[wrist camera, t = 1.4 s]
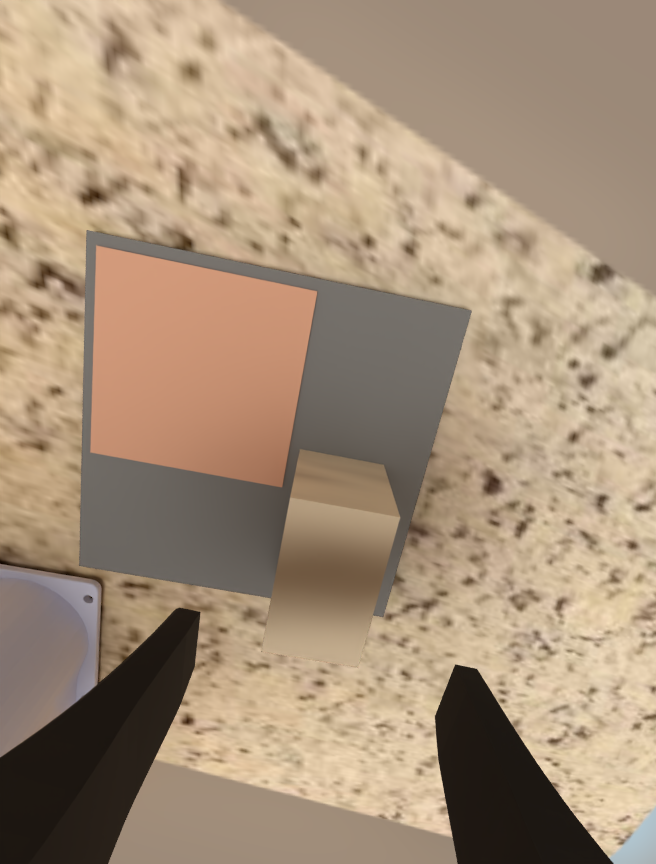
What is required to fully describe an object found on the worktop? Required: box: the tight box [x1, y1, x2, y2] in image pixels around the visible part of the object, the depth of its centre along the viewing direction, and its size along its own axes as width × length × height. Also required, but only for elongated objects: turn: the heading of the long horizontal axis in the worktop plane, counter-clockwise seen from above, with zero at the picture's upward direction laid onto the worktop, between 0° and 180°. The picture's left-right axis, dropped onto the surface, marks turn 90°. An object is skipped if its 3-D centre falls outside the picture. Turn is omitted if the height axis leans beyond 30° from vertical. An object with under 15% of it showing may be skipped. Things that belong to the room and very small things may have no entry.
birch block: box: [261, 449, 400, 668], centre depth 19 cm, size 7×4×5 cm, turn 169°
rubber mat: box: [79, 230, 472, 617], centre depth 20 cm, size 16×16×1 cm
